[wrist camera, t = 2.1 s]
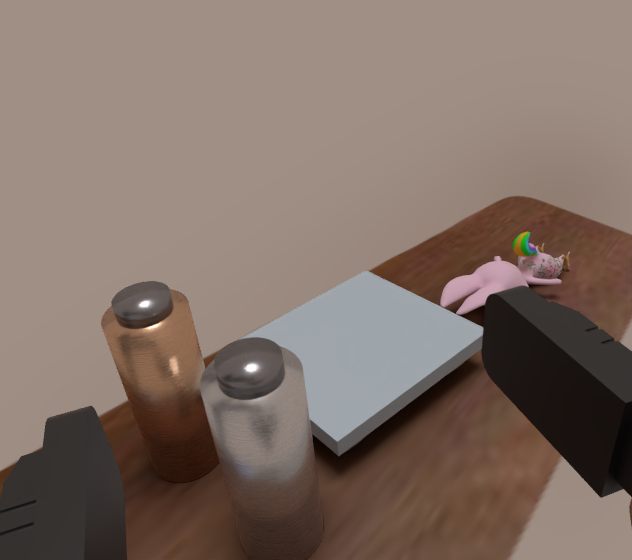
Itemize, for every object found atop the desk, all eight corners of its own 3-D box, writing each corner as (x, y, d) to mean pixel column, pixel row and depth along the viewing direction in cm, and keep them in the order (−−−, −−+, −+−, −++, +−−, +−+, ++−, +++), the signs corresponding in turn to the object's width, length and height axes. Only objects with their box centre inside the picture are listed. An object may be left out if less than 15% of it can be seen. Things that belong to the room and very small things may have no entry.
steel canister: (304, 580, 28) (272, 405, 22) (224, 553, 30) (174, 383, 24) (335, 505, 32) (316, 335, 25) (263, 484, 33) (228, 320, 27)
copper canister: (200, 491, 33) (150, 329, 27) (137, 471, 35) (76, 314, 29) (237, 434, 37) (201, 279, 31) (178, 419, 39) (132, 269, 32)
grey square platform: (341, 479, 33) (337, 441, 31) (230, 382, 41) (223, 348, 40) (485, 365, 40) (488, 330, 39) (367, 302, 48) (365, 270, 47)
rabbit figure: (518, 268, 54) (414, 313, 45) (531, 208, 51) (423, 244, 42) (582, 292, 49) (481, 348, 40) (599, 228, 47) (495, 272, 38)
